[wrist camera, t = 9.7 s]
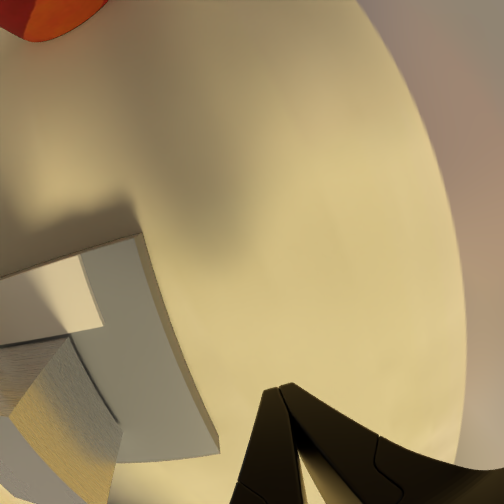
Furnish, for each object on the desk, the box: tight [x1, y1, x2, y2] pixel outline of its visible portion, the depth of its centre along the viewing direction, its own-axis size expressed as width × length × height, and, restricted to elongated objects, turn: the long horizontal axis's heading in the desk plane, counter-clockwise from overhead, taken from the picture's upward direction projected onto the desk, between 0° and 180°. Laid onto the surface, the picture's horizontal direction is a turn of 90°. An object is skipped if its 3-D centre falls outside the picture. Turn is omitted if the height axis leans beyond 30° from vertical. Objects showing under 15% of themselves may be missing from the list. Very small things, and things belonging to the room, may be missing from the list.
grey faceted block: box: [0, 337, 123, 504], centre depth 6 cm, size 7×5×4 cm, turn 12°
